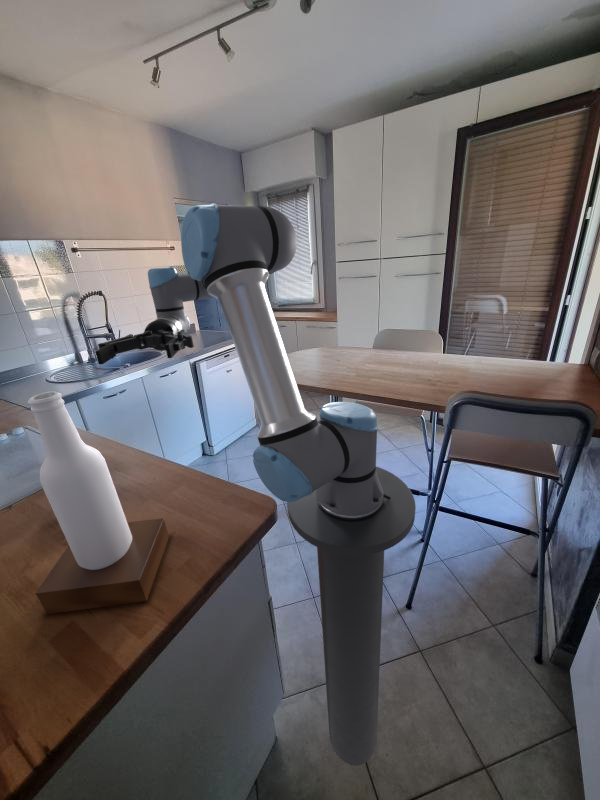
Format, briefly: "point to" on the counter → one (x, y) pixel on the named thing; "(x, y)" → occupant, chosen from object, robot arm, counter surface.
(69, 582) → the stand
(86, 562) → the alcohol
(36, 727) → the counter surface
